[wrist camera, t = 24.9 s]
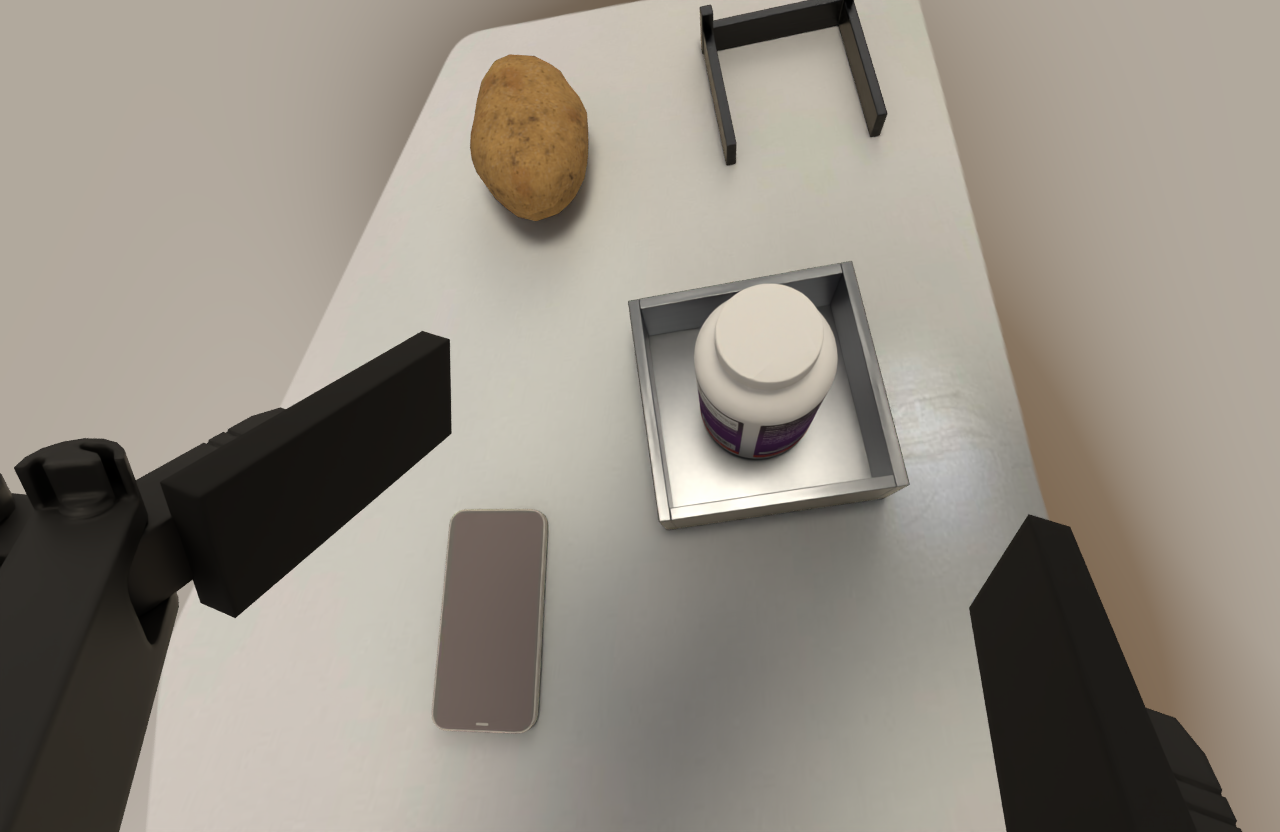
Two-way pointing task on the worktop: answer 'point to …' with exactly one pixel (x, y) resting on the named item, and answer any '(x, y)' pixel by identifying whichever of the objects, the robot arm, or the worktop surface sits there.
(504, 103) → the potato
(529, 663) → the smartphone
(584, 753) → the worktop surface
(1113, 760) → the robot arm
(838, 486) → the grey open square box
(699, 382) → the pill bottle
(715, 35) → the u-shaped frame
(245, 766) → the worktop surface
